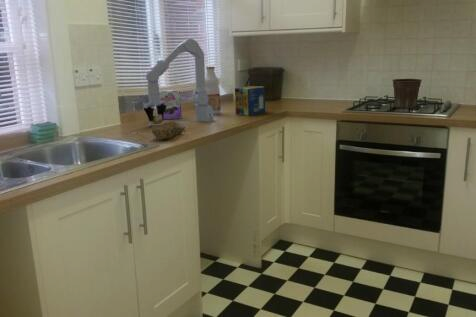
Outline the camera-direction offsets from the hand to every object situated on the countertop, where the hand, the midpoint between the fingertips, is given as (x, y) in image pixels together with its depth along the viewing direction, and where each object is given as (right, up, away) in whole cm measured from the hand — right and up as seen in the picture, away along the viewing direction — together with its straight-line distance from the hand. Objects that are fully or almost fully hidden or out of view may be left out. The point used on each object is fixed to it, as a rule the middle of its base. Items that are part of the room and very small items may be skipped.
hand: (156, 120), depth 237 cm
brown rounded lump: (+11, -11, -32) cm, 35 cm away
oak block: (0, -2, +1) cm, 2 cm away
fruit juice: (+28, +7, +35) cm, 45 cm away
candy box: (+4, +2, +20) cm, 21 cm away
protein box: (+51, +6, +30) cm, 59 cm away
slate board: (+6, -3, +1) cm, 7 cm away
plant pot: (+142, +10, +27) cm, 145 cm away
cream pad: (0, -2, +1) cm, 2 cm away
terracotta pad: (+4, 0, +7) cm, 8 cm away
